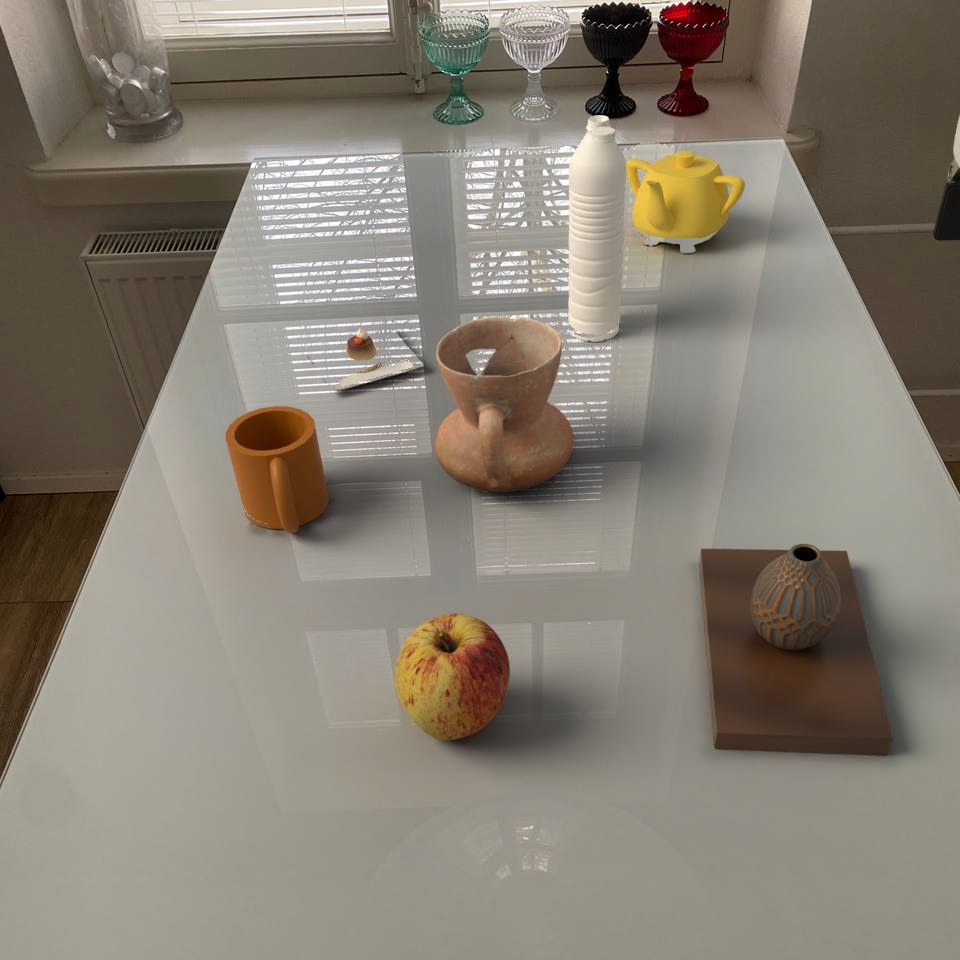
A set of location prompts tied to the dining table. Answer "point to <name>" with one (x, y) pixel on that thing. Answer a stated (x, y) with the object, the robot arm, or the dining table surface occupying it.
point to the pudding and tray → (365, 350)
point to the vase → (796, 599)
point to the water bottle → (596, 231)
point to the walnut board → (787, 668)
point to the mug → (278, 467)
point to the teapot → (682, 196)
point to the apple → (452, 675)
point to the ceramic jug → (503, 405)
